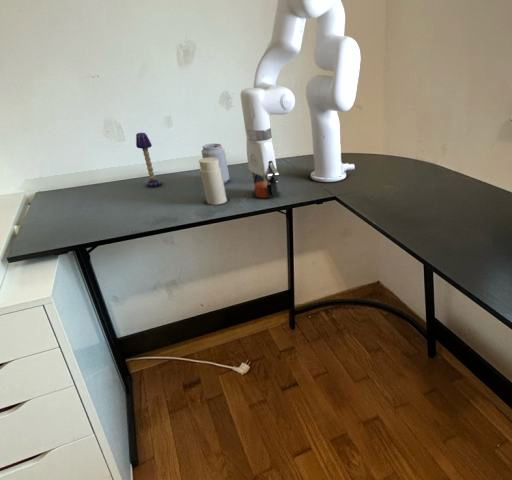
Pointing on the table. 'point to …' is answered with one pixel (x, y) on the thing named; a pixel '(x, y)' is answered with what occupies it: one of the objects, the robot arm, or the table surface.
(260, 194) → the jar lid
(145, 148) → the toy lamp
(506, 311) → the table surface
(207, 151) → the can
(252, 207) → the table surface
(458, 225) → the table surface
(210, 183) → the jar
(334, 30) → the robot arm
